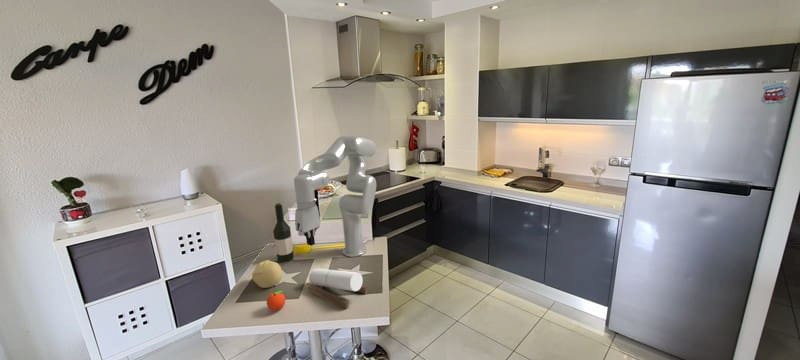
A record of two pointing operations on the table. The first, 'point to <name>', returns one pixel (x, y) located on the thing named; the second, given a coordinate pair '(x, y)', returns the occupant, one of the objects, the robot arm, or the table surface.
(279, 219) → the wine bottle
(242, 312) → the table surface
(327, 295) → the cradle rails
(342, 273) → the cylindrical container
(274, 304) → the clementine
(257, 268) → the pale yellow lumpy blob
